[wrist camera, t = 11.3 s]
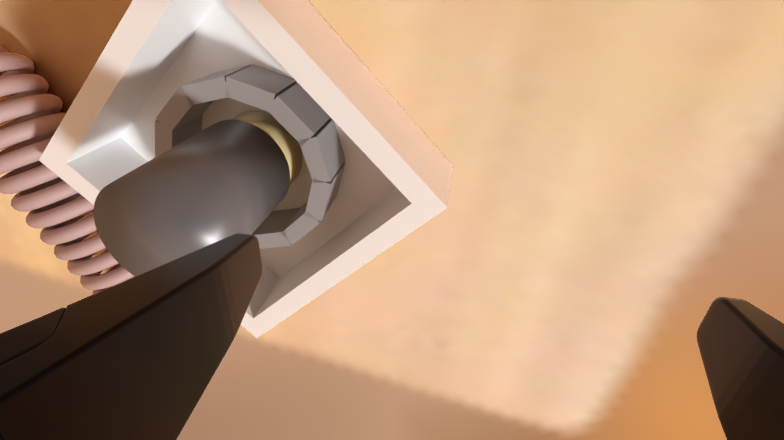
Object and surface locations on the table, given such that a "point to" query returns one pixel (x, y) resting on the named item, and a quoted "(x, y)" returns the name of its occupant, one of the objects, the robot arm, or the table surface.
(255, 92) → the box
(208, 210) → the plug
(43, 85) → the coil
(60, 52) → the table surface
